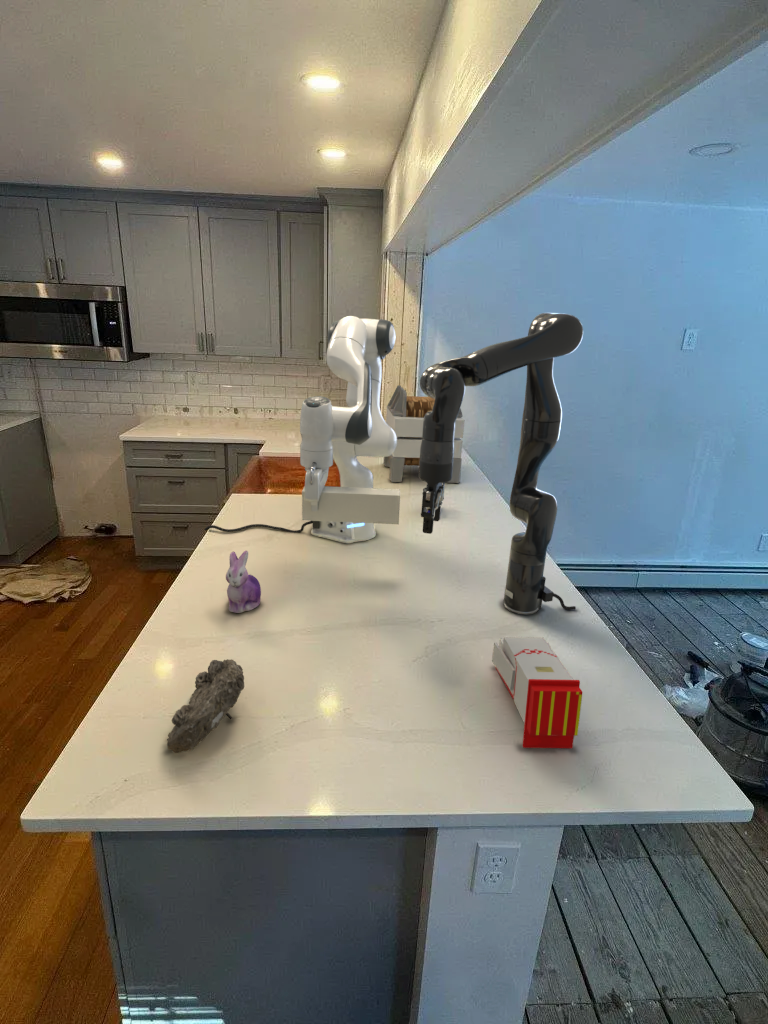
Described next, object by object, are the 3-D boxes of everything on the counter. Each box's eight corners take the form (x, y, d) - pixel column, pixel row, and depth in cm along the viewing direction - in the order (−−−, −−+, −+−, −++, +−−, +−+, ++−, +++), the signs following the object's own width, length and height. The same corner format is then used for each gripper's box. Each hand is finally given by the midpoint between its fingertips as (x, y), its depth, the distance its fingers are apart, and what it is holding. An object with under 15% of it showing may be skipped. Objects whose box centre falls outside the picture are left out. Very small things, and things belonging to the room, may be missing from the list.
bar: (302, 520, 157) (301, 491, 154) (305, 513, 162) (304, 485, 159) (398, 524, 157) (400, 495, 154) (398, 517, 162) (400, 489, 159)
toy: (540, 620, 128) (592, 687, 99) (535, 674, 131) (584, 755, 102) (487, 619, 128) (523, 686, 99) (483, 673, 131) (517, 754, 101)
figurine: (230, 617, 142) (227, 563, 137) (221, 599, 150) (218, 547, 145) (267, 610, 146) (266, 557, 141) (256, 593, 154) (255, 542, 149)
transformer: (382, 463, 289) (386, 382, 275) (445, 464, 293) (451, 384, 279) (390, 482, 257) (394, 392, 243) (460, 483, 261) (468, 394, 247)
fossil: (192, 660, 117) (244, 628, 112) (224, 691, 120) (276, 661, 115) (142, 746, 98) (202, 712, 93) (182, 779, 101) (242, 748, 96)
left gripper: (323, 469, 144) (323, 520, 149) (332, 449, 163) (331, 495, 168) (298, 468, 144) (299, 518, 149) (310, 448, 163) (310, 494, 168)
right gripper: (447, 468, 119) (441, 539, 124) (458, 453, 131) (452, 518, 137) (412, 464, 120) (408, 535, 126) (426, 449, 133) (422, 514, 139)
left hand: (316, 506), depth 158 cm, fingers closed on bar, 5 cm apart
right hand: (431, 526), depth 131 cm, fingers open, 8 cm apart
